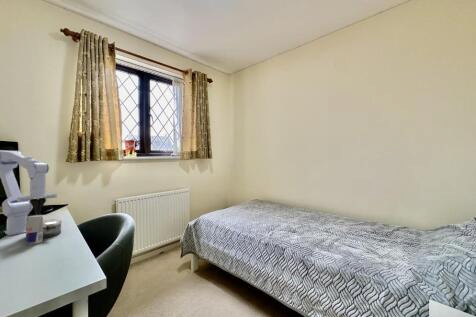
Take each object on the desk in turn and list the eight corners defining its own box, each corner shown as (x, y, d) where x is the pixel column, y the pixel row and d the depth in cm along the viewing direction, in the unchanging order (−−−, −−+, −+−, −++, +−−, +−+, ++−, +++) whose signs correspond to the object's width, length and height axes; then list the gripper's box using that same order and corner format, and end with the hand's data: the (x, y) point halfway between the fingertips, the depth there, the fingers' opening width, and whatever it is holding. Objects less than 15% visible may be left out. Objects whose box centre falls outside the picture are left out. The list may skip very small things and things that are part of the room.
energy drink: (23, 244, 96) (24, 216, 96) (39, 240, 101) (39, 214, 101) (29, 246, 93) (29, 218, 94) (44, 242, 98) (45, 215, 98)
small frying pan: (21, 225, 106) (21, 223, 106) (55, 219, 117) (55, 217, 117) (33, 232, 96) (33, 230, 96) (70, 225, 107) (70, 223, 107)
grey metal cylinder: (22, 236, 105) (22, 226, 106) (55, 229, 116) (55, 220, 116) (30, 241, 98) (30, 230, 98) (65, 233, 109) (65, 224, 109)
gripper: (20, 188, 100) (19, 218, 99) (59, 185, 112) (58, 212, 111) (15, 187, 103) (15, 216, 103) (54, 185, 116) (53, 210, 115)
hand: (37, 214), depth 107 cm, fingers closed
